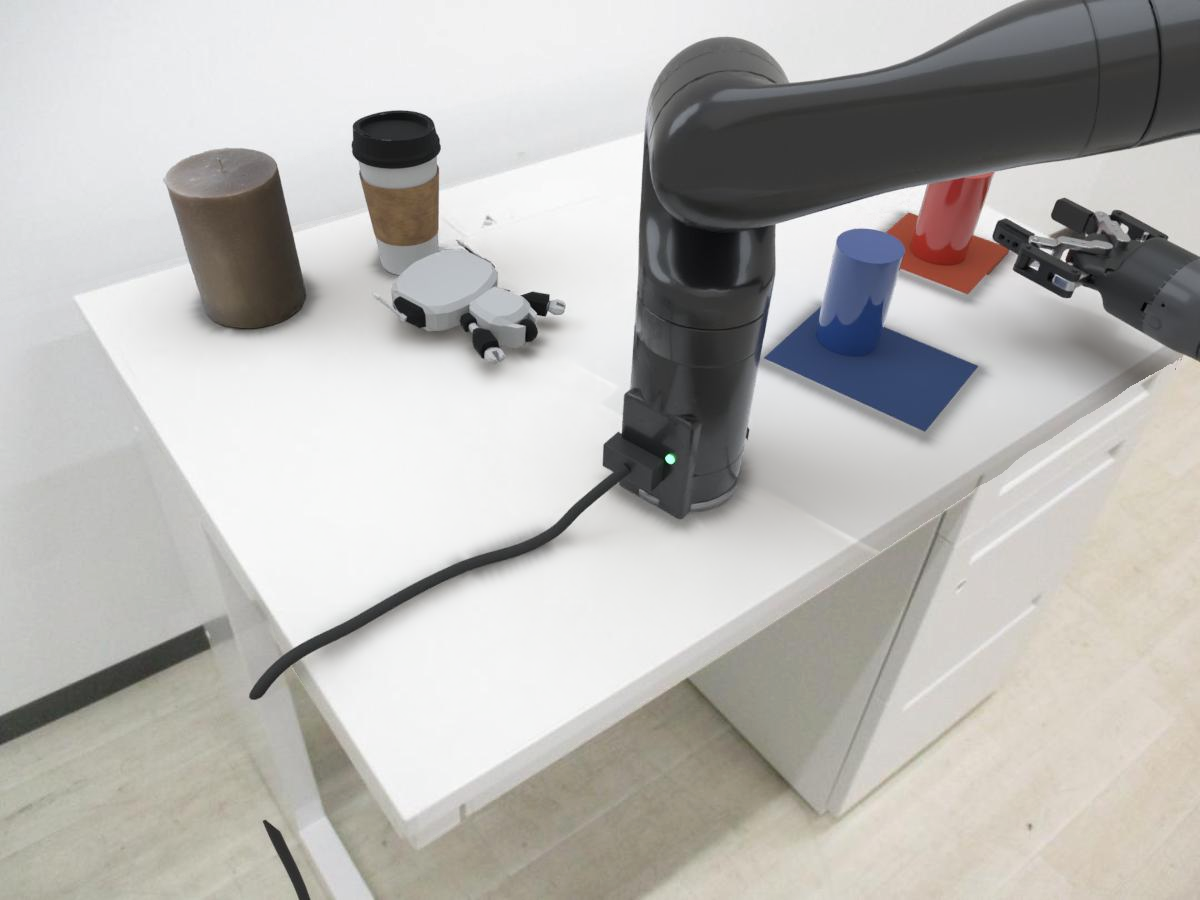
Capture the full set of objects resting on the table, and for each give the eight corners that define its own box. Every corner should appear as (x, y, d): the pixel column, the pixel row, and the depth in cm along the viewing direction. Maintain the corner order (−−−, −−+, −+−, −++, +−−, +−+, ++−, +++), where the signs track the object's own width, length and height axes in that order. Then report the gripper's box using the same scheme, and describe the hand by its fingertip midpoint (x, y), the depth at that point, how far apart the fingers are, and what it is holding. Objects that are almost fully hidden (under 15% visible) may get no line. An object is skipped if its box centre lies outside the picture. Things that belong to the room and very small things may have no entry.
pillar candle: (318, 313, 92) (288, 169, 82) (215, 340, 88) (170, 192, 78) (291, 265, 98) (260, 125, 88) (193, 288, 94) (149, 144, 84)
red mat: (966, 298, 97) (967, 294, 97) (860, 258, 102) (861, 253, 102) (1008, 252, 104) (1010, 247, 104) (907, 216, 110) (908, 212, 109)
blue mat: (923, 436, 81) (925, 431, 81) (762, 362, 88) (763, 357, 88) (976, 370, 88) (978, 365, 88) (824, 307, 95) (825, 302, 95)
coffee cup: (351, 266, 98) (328, 126, 88) (405, 232, 103) (389, 96, 93) (415, 292, 95) (398, 150, 85) (466, 255, 100) (456, 117, 90)
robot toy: (572, 328, 93) (454, 268, 98) (575, 290, 89) (453, 230, 95) (493, 392, 85) (370, 324, 90) (494, 353, 82) (366, 285, 87)
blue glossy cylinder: (861, 364, 87) (886, 271, 81) (804, 339, 90) (824, 247, 83) (889, 335, 91) (916, 243, 84) (833, 312, 94) (855, 221, 87)
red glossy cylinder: (952, 271, 100) (981, 184, 93) (900, 252, 102) (924, 165, 96) (974, 249, 103) (1004, 163, 97) (923, 231, 106) (948, 146, 99)
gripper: (1246, 240, 82) (1088, 164, 92) (1146, 284, 76) (988, 198, 86) (1205, 312, 87) (1060, 233, 97) (1109, 358, 81) (964, 269, 91)
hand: (1026, 217), depth 92 cm, fingers open, 8 cm apart
